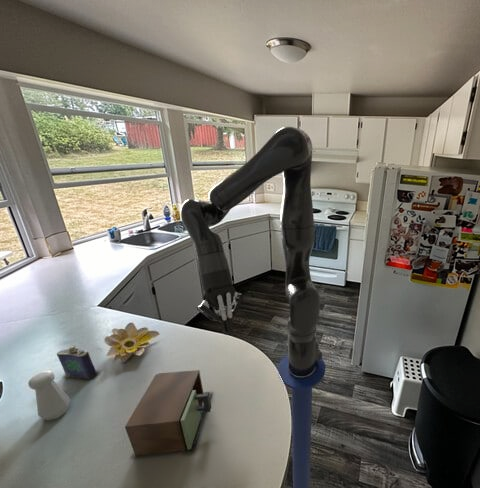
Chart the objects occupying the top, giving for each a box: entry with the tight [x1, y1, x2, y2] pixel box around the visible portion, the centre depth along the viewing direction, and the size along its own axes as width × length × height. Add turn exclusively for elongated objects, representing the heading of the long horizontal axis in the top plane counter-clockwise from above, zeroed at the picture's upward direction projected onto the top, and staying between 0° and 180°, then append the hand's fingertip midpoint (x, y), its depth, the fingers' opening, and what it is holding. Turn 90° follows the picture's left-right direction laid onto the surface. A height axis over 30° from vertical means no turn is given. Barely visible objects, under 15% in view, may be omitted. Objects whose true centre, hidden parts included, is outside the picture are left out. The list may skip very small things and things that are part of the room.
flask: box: [56, 344, 98, 380], centre depth 76 cm, size 9×3×11 cm, turn 85°
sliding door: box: [181, 390, 212, 449], centre depth 61 cm, size 4×8×10 cm, turn 8°
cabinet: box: [124, 369, 212, 457], centre depth 63 cm, size 13×15×10 cm
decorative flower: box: [103, 322, 161, 363], centre depth 85 cm, size 15×11×10 cm
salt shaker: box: [27, 370, 71, 421], centre depth 64 cm, size 6×6×13 cm
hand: (228, 333), depth 67 cm, fingers closed
